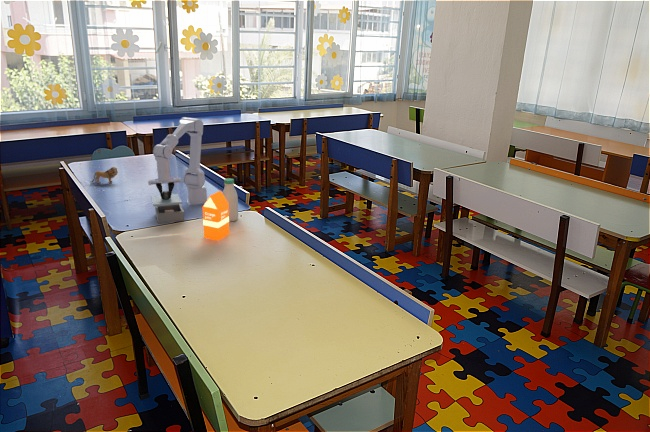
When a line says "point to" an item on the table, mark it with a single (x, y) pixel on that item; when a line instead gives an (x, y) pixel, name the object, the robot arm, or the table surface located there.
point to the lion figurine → (106, 174)
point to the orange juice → (216, 217)
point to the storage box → (169, 213)
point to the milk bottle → (231, 199)
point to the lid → (166, 199)
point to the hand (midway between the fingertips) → (166, 198)
